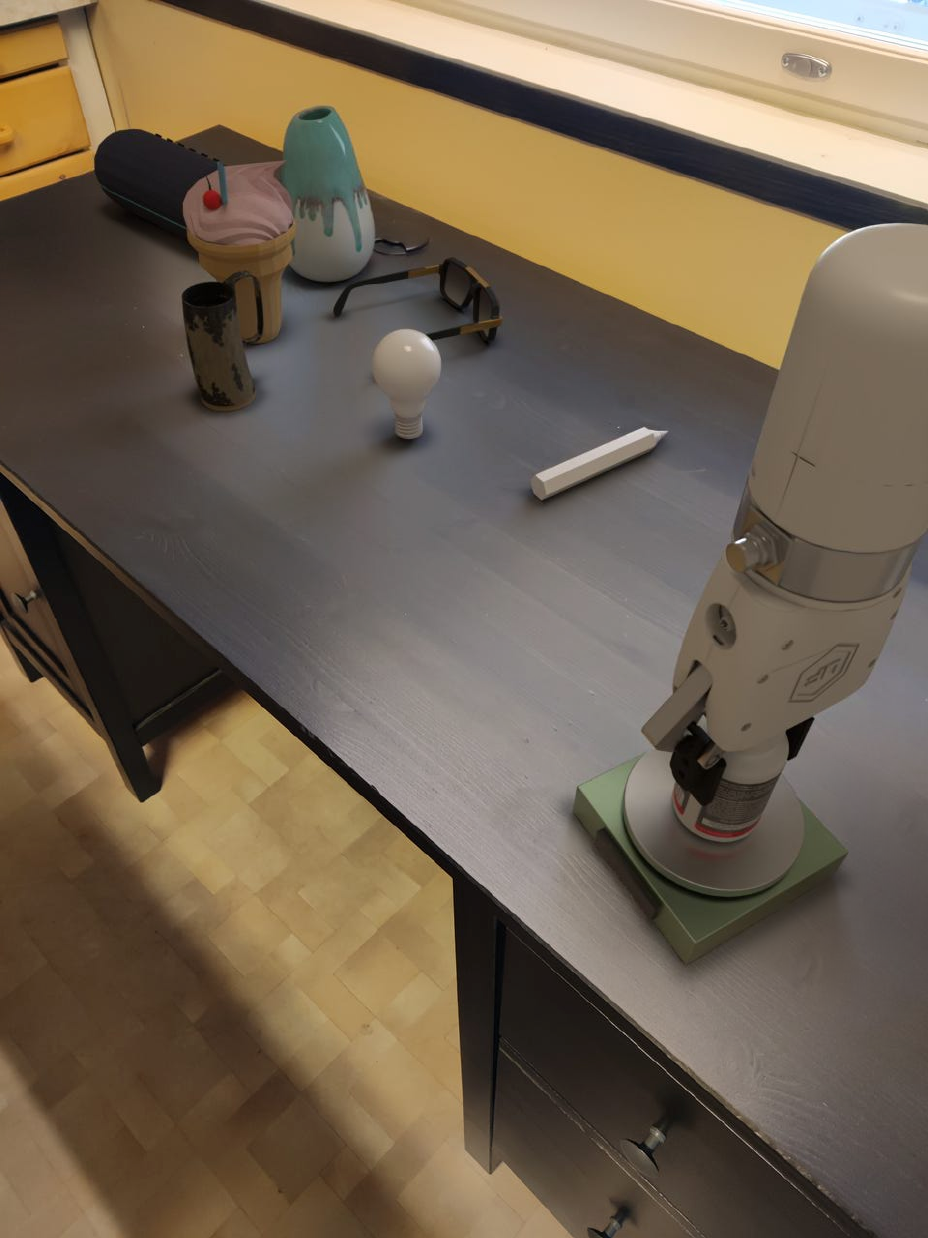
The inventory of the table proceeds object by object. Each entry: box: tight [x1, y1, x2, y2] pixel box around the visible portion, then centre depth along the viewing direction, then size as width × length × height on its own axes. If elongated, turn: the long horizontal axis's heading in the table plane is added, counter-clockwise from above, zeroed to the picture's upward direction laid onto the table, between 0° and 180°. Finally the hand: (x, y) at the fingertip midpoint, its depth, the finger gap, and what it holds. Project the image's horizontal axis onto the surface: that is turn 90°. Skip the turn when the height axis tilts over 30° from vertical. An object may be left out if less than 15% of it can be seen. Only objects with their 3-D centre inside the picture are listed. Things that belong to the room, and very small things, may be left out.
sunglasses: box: [332, 256, 504, 342], centre depth 102 cm, size 14×15×5 cm
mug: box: [181, 270, 264, 412], centre depth 91 cm, size 8×6×12 cm
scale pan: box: [623, 747, 805, 897], centre depth 58 cm, size 11×11×1 cm
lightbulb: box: [371, 328, 442, 440], centre depth 86 cm, size 6×6×11 cm
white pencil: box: [529, 426, 669, 501], centre depth 87 cm, size 3×2×16 cm
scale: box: [572, 751, 849, 966], centre depth 59 cm, size 12×12×3 cm
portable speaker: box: [93, 128, 228, 241], centre depth 117 cm, size 25×10×10 cm, turn 49°
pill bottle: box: [672, 715, 789, 842], centre depth 54 cm, size 5×5×10 cm
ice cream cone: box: [183, 160, 296, 345], centre depth 96 cm, size 11×11×20 cm
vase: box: [279, 105, 376, 283], centre depth 107 cm, size 12×12×18 cm
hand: (732, 761), depth 54 cm, fingers closed on pill bottle, 5 cm apart
